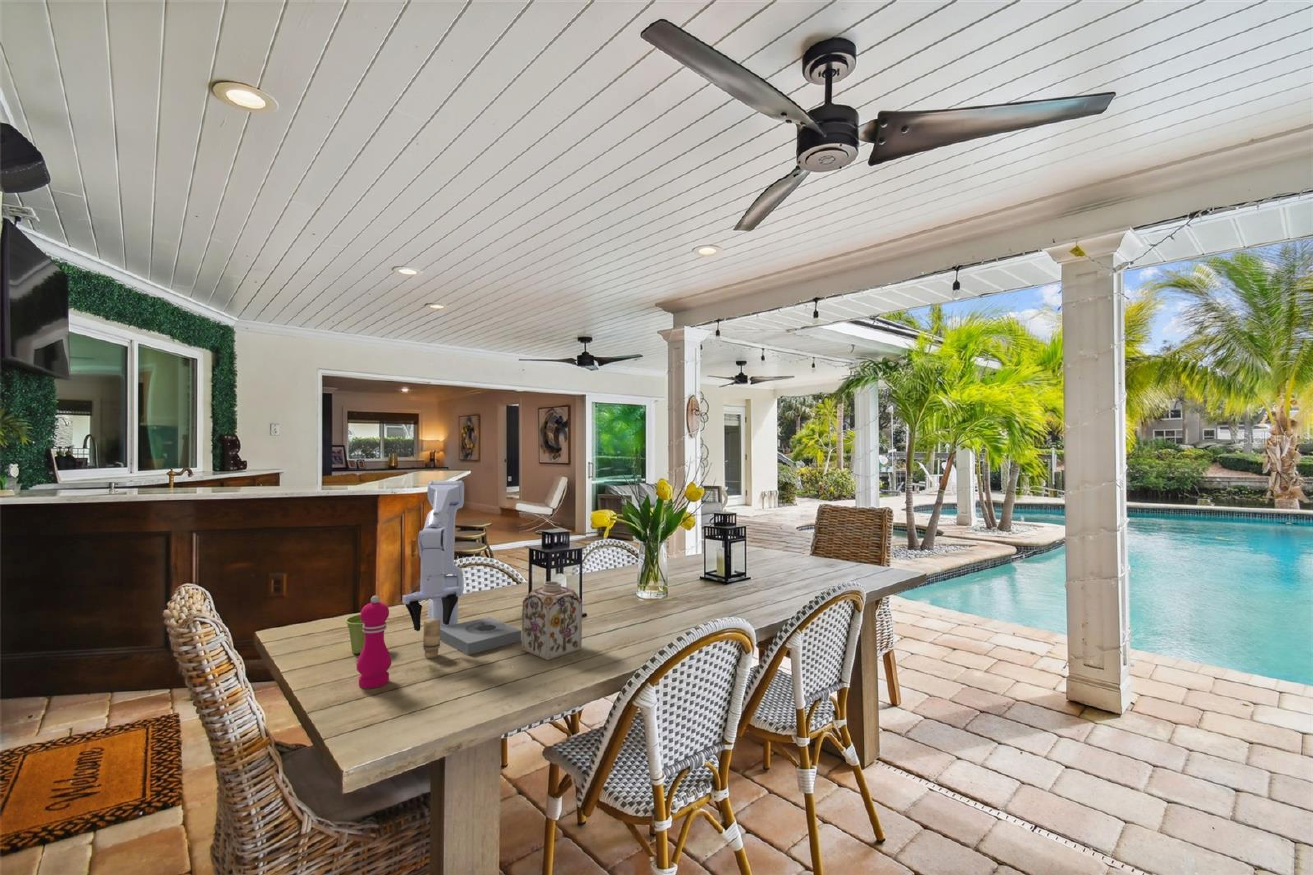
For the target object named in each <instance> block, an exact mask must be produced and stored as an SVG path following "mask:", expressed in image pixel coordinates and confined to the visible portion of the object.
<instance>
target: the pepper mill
mask: <svg viewBox="0 0 1313 875" xmlns="http://www.w3.org/2000/svg"><path fill="white" fill-rule="evenodd" d="M389 615H390V609H389V607H388V605H387V604H386V603H384V602H381V601H380V597H379V596H378V595H372V597H371V598H370V602H369V603H367V604H366V605H364V606H363V607H362V608H361V610H360V618H361V620H362V622H363V623H364V625H363V630H362V631H363V632H364V633H365V643H364V647H363V649H362V652H361V653H359V656H358V659H357V662H356V670H357V672H358V673H359V674H360V675H359V677H358V686H359V687H360V688H362V689H375V688H380V687H383V686H385V685H387V684H388V683H389V682H390V673H389V671H388V670H389V669H390V668H391V666H392V657H391V654H390V651H389V649H388V648H387V645H386V642H385V631H386V629H387V622H386V621H387V620H388V618H389Z"/></svg>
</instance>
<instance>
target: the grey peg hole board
mask: <svg viewBox="0 0 1313 875" xmlns="http://www.w3.org/2000/svg"><path fill="white" fill-rule="evenodd" d="M440 642H443V643H445V644H446V645H448V646H449V647H452V648H454V649H455V650H457V651H460V652H462V653H463V654H465V655H466V656H470V655H473V654H478V653H481V652H485V650H486V651H489V650H493V649H497V648H500V646H501V647H504V646H508V645H512V644H515V643H519V642H520V643H521V642H522V629H519V628H517V627H515V626H512V625H510V624H507V623H505V622H503V621H500V620H498V619H495V618H493V617H491V616H487V617H481V618H477V619H473V620H469V621H464V622H458V624H454V625H450V626H445V627H441V628H440Z"/></svg>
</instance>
